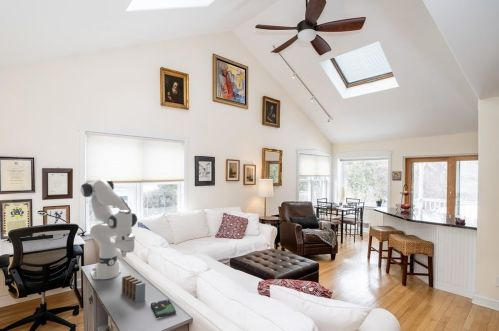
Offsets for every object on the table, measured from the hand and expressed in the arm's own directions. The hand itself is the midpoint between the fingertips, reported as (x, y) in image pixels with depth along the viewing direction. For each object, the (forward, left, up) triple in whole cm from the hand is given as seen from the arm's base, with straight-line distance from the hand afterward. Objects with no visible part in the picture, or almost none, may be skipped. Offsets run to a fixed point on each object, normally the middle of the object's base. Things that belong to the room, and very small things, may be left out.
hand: (123, 256), depth 173 cm
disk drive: (+43, +3, -22) cm, 48 cm away
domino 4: (+19, 0, -21) cm, 28 cm away
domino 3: (+14, 0, -21) cm, 25 cm away
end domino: (+23, 0, -21) cm, 31 cm away
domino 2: (+10, 0, -21) cm, 23 cm away
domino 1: (+5, 0, -21) cm, 22 cm away
